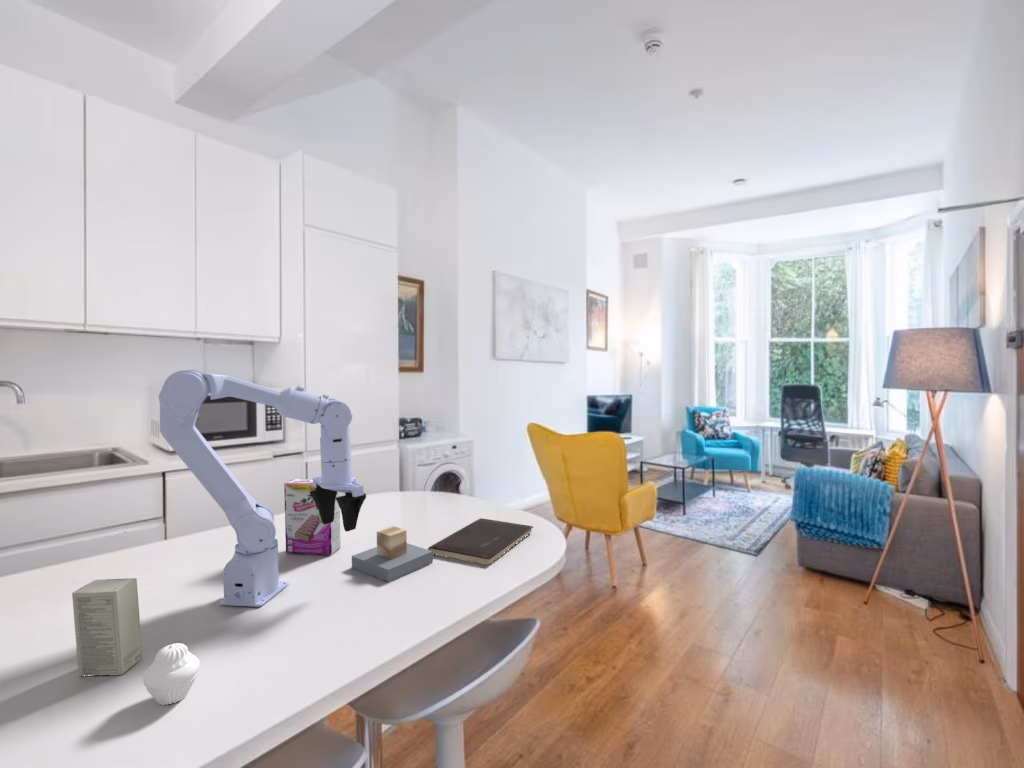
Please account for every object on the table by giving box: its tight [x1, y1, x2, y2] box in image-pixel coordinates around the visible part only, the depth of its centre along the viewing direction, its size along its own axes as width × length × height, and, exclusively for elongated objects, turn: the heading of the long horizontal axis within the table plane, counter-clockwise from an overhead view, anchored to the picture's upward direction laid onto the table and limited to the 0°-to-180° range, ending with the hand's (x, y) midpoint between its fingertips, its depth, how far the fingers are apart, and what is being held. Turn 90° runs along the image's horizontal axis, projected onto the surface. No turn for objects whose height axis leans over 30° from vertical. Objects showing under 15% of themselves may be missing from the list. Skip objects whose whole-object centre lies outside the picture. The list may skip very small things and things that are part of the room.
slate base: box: [351, 542, 434, 583], centre depth 108 cm, size 12×12×2 cm
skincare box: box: [71, 577, 143, 677], centre depth 72 cm, size 6×4×12 cm
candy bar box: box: [283, 478, 341, 556], centre depth 115 cm, size 11×5×16 cm, turn 84°
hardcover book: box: [427, 517, 534, 566], centre depth 121 cm, size 16×23×2 cm
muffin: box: [142, 642, 201, 706], centre depth 65 cm, size 6×6×7 cm
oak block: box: [376, 525, 408, 559], centre depth 107 cm, size 4×4×5 cm
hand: (338, 526), depth 101 cm, fingers open, 7 cm apart
